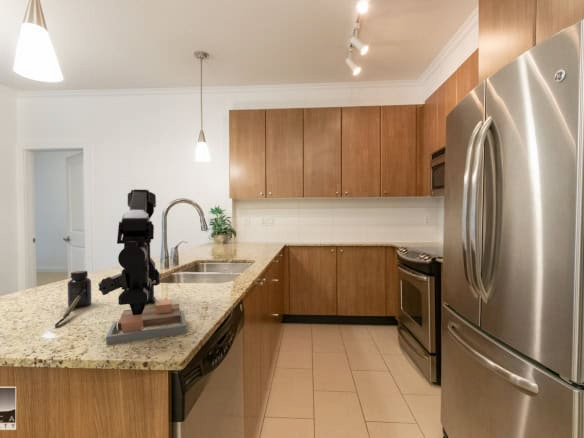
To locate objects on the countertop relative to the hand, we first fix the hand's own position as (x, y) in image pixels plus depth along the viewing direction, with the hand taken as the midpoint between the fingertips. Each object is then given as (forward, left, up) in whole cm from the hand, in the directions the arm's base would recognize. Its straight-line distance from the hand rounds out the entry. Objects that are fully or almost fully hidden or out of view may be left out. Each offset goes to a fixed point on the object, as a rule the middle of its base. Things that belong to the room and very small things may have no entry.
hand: (137, 320), depth 79 cm
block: (-10, +7, -1) cm, 12 cm away
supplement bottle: (-36, -21, -4) cm, 42 cm away
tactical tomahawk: (-22, -21, -5) cm, 31 cm away
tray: (+2, +3, -4) cm, 5 cm away
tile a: (0, -1, 0) cm, 1 cm away
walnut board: (-9, +3, -4) cm, 10 cm away
